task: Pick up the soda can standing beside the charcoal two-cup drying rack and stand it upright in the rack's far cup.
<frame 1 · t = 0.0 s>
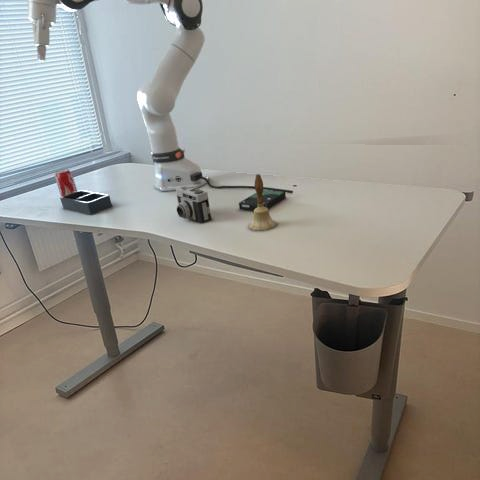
hand: (41, 61, 171), 52 cm above the table, tool tilted 20°, fingers open, 8 cm apart
soda can: (70, 199, 209), on the table
camera: (191, 219, 168), on the table
disk drive: (263, 205, 172), on the table
hand bell: (262, 226, 154), on the table
rack: (87, 207, 195), on the table
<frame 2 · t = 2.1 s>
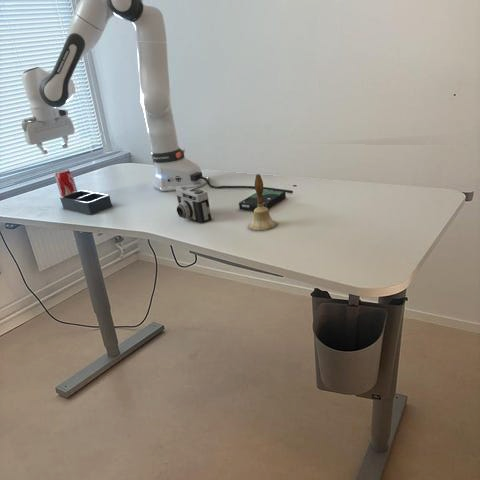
hand: (55, 150, 199), 20 cm above the table, tool pointing down, fingers open, 8 cm apart
nothing on the table moved.
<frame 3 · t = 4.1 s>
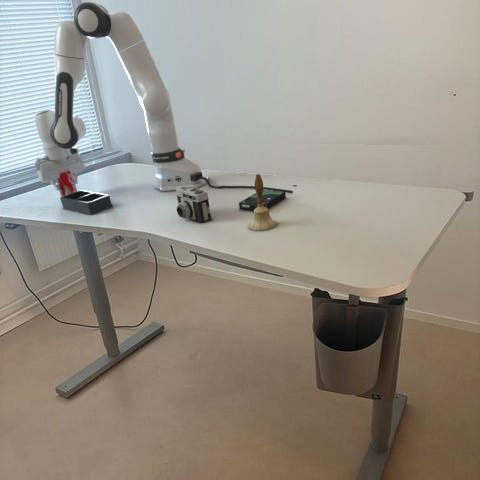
hand: (67, 186, 206), 5 cm above the table, tool pointing down, fingers closed on soda can, 7 cm apart
soda can: (70, 199, 209), on the table, touching gripper
everything else where it was.
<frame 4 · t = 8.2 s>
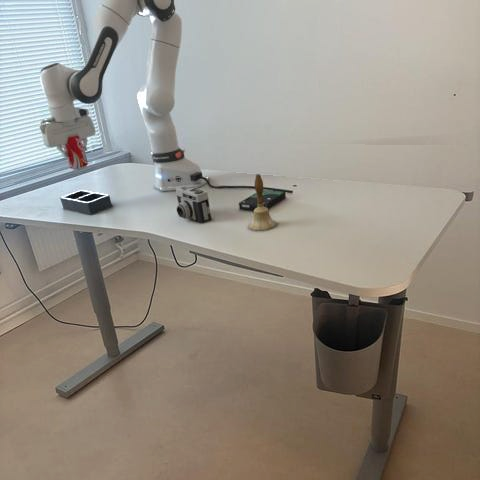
hand: (75, 154, 184), 21 cm above the table, tool pointing down, fingers closed on soda can, 7 cm apart
soda can: (79, 168, 187), point 15 cm above the table, touching gripper
everything else where it was.
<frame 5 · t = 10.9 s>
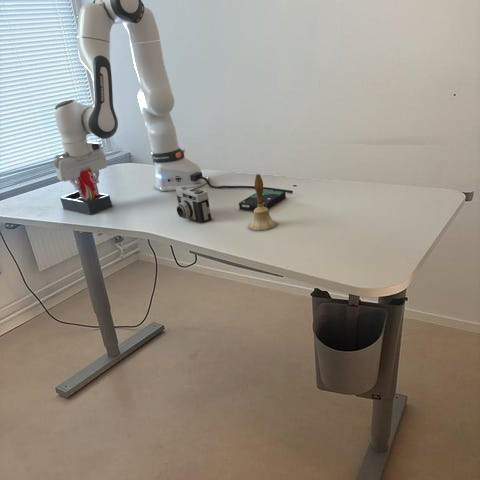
hand: (87, 186, 187), 9 cm above the table, tool pointing down, fingers closed on soda can, 7 cm apart
soda can: (91, 200, 190), point 4 cm above the table, touching gripper
everything else where it was.
when the fingers open (6 cm above the table, at t = 12.4 s): soda can stays where it is, resting on rack.
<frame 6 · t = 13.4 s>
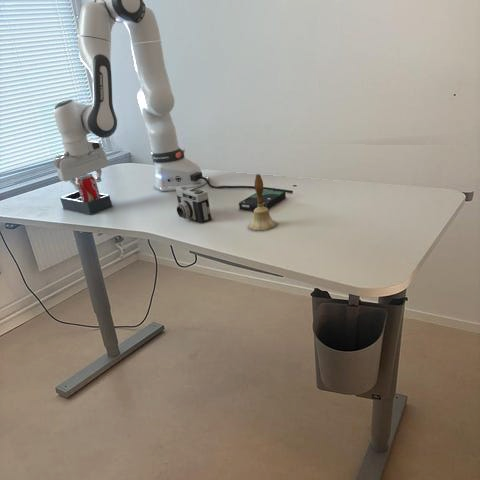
hand: (88, 185, 188), 9 cm above the table, tool pointing down, fingers open, 8 cm apart
soda can: (93, 207, 192), point 1 cm above the table, touching gripper, rack
everything else where it was.
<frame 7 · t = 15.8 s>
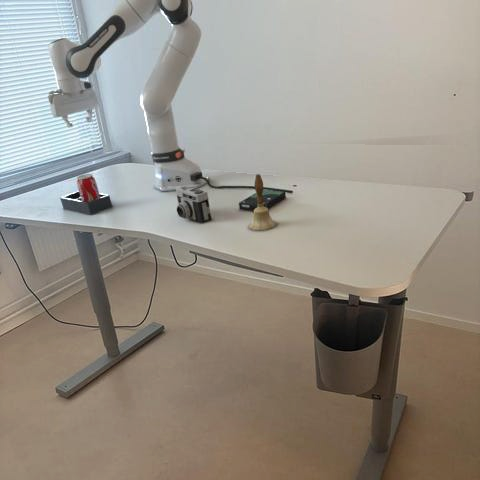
hand: (80, 124, 198), 28 cm above the table, tool pointing down, fingers open, 8 cm apart
soda can: (93, 207, 192), point 1 cm above the table, touching rack
everything else where it was.
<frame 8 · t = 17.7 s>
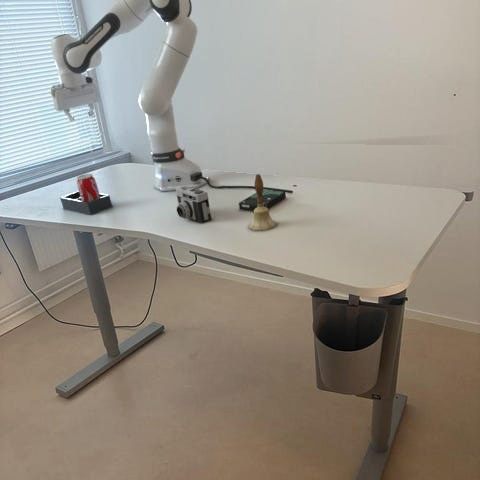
hand: (81, 118, 204), 29 cm above the table, tool pointing down, fingers open, 8 cm apart
nothing on the table moved.
at the end: soda can 0.0 cm from the target spot in the rack, point 0.6 cm above the rack's base; soda can tilted 0°; the gripper is holding nothing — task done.
